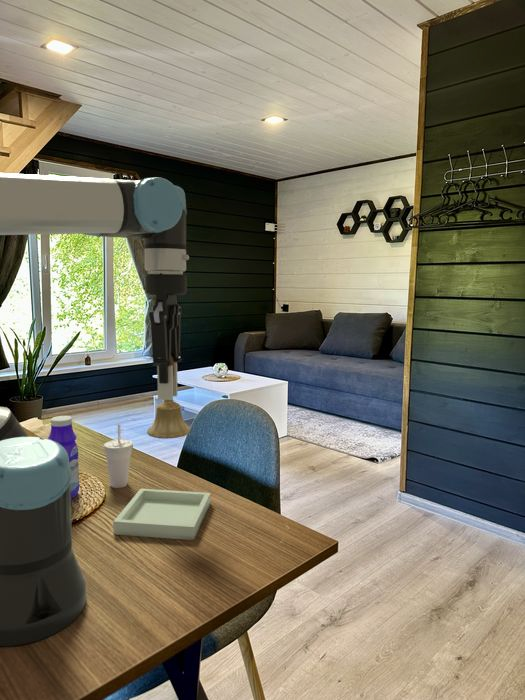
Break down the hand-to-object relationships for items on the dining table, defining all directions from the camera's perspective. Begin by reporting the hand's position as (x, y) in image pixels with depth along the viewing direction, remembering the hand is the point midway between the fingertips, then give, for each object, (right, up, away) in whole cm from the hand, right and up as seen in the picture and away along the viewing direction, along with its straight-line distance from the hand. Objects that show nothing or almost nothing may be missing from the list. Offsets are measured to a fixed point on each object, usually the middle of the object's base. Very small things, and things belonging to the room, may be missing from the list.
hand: (167, 397), depth 97 cm
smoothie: (-15, -22, +19) cm, 32 cm away
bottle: (-24, -23, +12) cm, 35 cm away
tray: (-1, -24, +3) cm, 24 cm away
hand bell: (0, -7, +1) cm, 7 cm away
